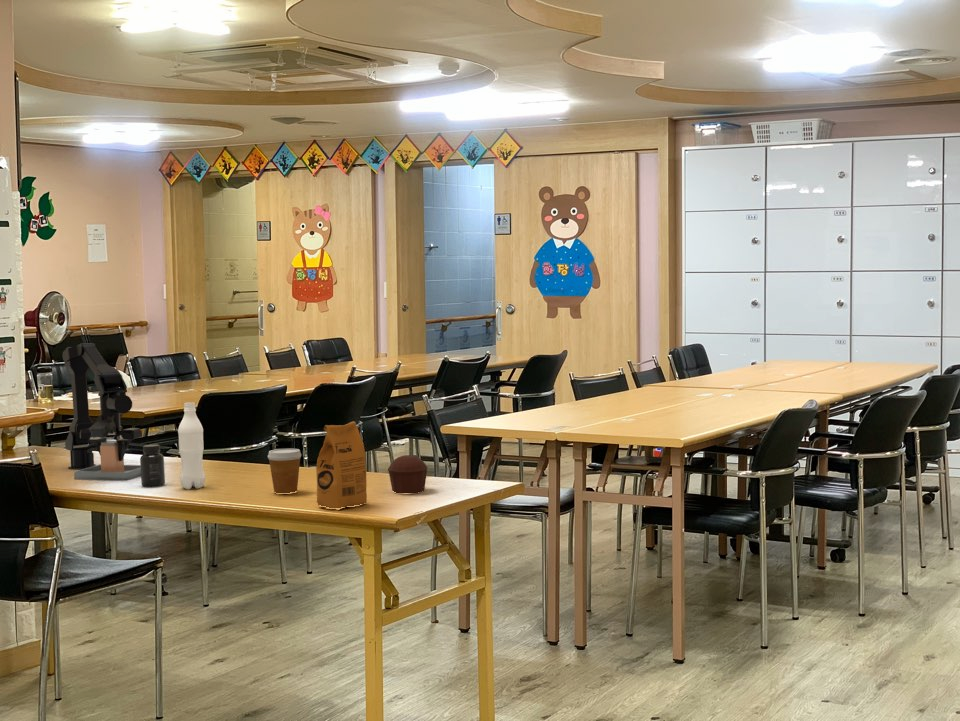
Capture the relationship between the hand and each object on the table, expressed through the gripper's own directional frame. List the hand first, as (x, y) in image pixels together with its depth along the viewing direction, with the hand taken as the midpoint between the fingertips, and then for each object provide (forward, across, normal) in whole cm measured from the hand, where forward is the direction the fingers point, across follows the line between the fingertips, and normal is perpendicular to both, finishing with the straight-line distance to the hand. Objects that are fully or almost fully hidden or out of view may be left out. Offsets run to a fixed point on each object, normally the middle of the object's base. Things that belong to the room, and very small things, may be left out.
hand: (112, 460), depth 369 cm
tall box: (+4, 0, 0) cm, 4 cm away
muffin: (+5, +101, -13) cm, 102 cm away
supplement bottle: (+5, +22, -14) cm, 27 cm away
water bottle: (+5, +36, -16) cm, 40 cm away
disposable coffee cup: (+5, +67, -20) cm, 70 cm away
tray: (+5, 0, 0) cm, 5 cm away
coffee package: (+5, +90, -36) cm, 97 cm away
